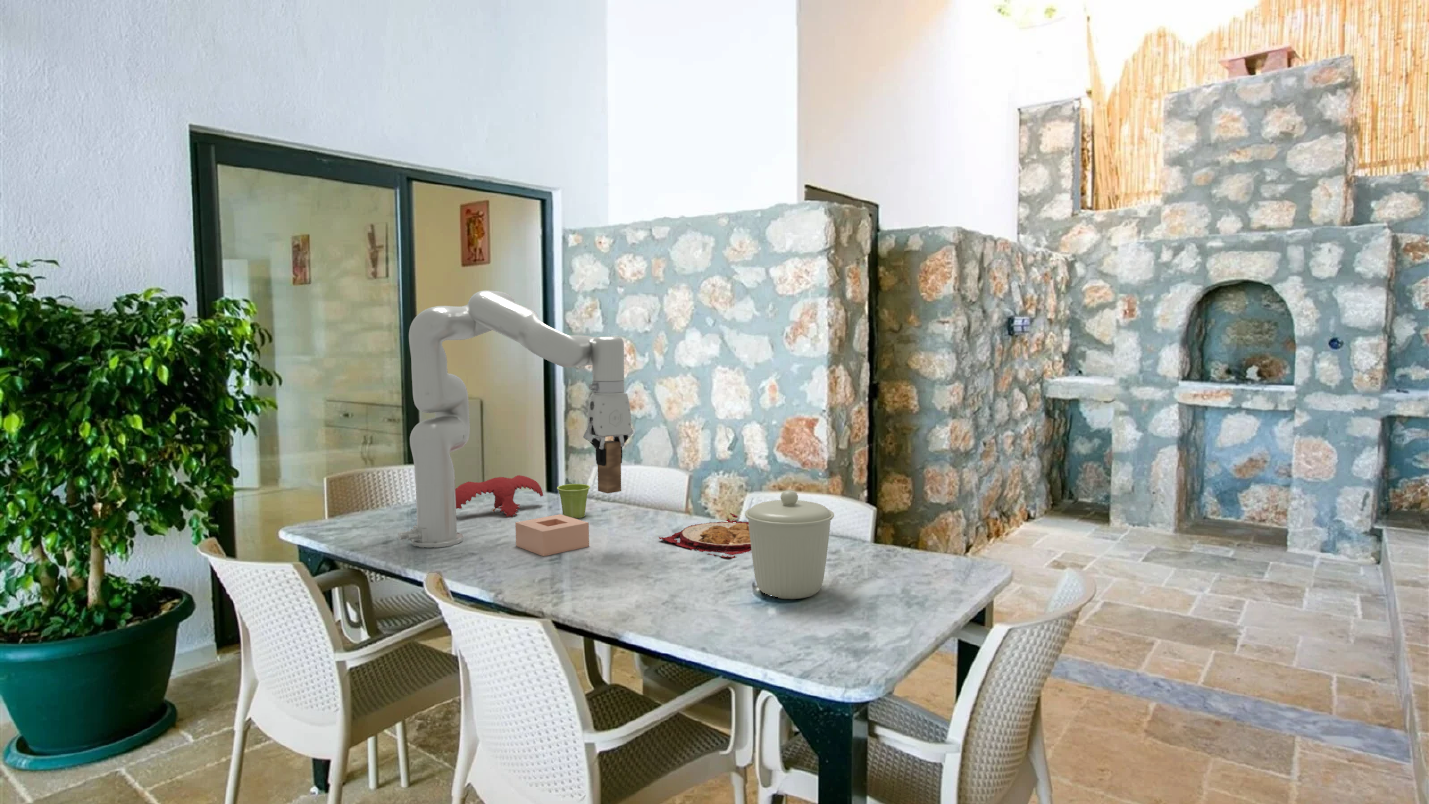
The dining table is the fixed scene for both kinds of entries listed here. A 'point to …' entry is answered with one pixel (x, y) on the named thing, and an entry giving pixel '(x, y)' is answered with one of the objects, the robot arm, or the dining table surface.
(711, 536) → the plate with food
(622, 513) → the dining table surface
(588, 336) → the robot arm
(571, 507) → the plant pot
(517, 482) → the decorative bird sculpture
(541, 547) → the pink planter box
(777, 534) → the canister
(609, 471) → the walnut peg
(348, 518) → the dining table surface
